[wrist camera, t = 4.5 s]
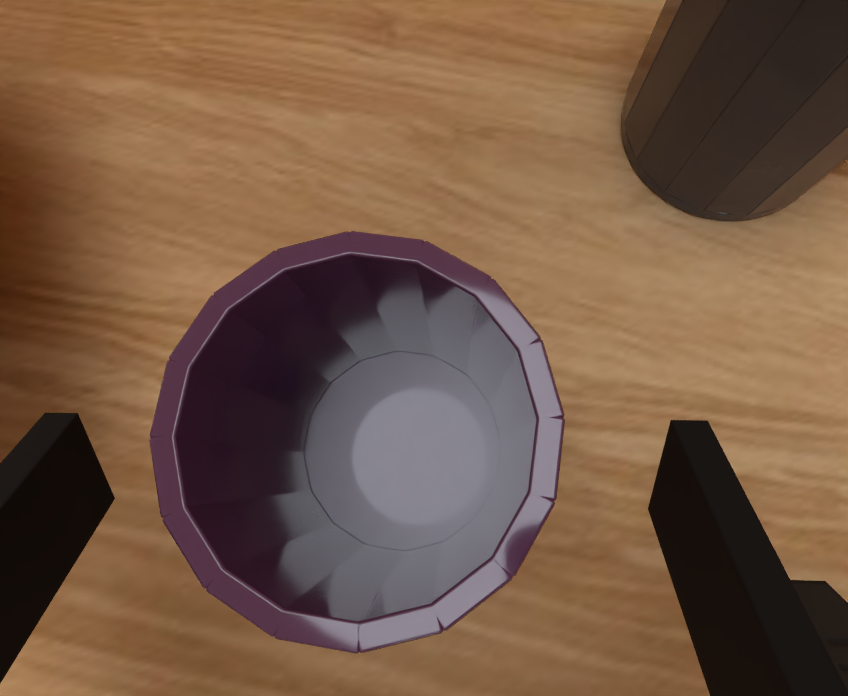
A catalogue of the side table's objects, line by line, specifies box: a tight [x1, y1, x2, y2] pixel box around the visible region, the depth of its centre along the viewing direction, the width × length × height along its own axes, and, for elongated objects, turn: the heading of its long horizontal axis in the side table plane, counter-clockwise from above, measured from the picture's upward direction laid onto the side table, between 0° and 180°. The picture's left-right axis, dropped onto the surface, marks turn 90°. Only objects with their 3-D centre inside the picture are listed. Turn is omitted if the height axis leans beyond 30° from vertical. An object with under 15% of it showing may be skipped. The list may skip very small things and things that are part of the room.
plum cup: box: [150, 231, 565, 653], centre depth 16 cm, size 7×7×10 cm
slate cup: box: [621, 0, 848, 221], centre depth 18 cm, size 7×7×10 cm
